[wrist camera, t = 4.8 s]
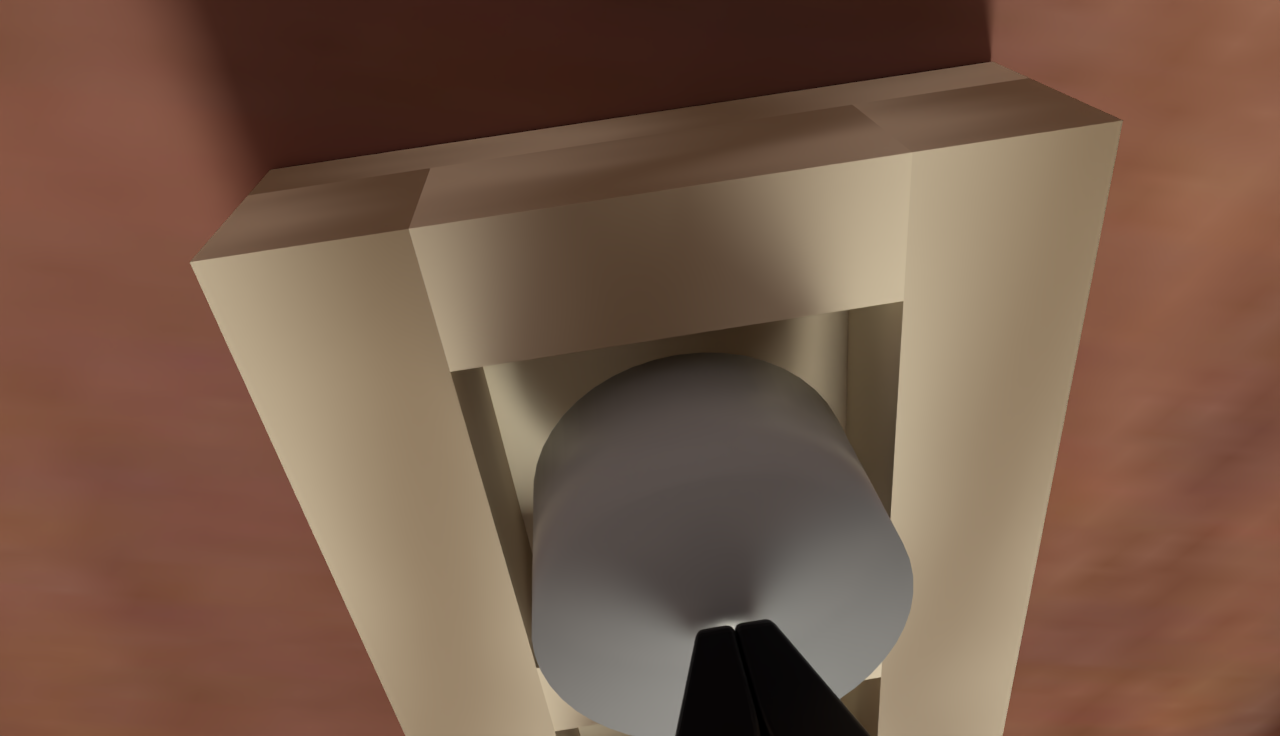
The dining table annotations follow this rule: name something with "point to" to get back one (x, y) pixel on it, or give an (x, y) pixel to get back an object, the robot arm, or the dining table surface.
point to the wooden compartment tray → (675, 353)
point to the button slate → (704, 536)
